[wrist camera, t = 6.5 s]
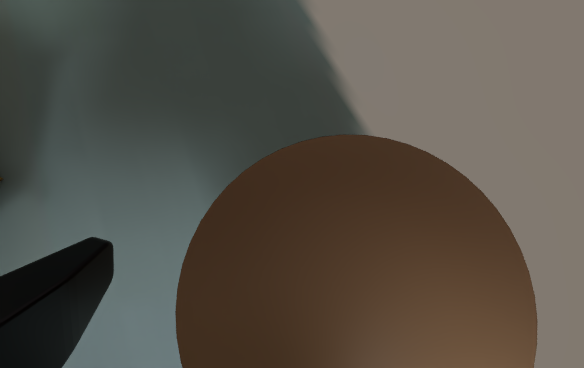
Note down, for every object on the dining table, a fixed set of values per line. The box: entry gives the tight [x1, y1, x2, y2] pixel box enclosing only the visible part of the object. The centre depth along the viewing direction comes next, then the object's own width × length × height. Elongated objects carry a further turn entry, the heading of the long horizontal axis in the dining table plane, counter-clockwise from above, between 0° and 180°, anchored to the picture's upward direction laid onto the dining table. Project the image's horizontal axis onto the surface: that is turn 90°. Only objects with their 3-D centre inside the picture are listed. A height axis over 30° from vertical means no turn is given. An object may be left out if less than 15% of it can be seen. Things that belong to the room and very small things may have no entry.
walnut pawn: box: [176, 135, 537, 368], centre depth 11 cm, size 4×4×12 cm
